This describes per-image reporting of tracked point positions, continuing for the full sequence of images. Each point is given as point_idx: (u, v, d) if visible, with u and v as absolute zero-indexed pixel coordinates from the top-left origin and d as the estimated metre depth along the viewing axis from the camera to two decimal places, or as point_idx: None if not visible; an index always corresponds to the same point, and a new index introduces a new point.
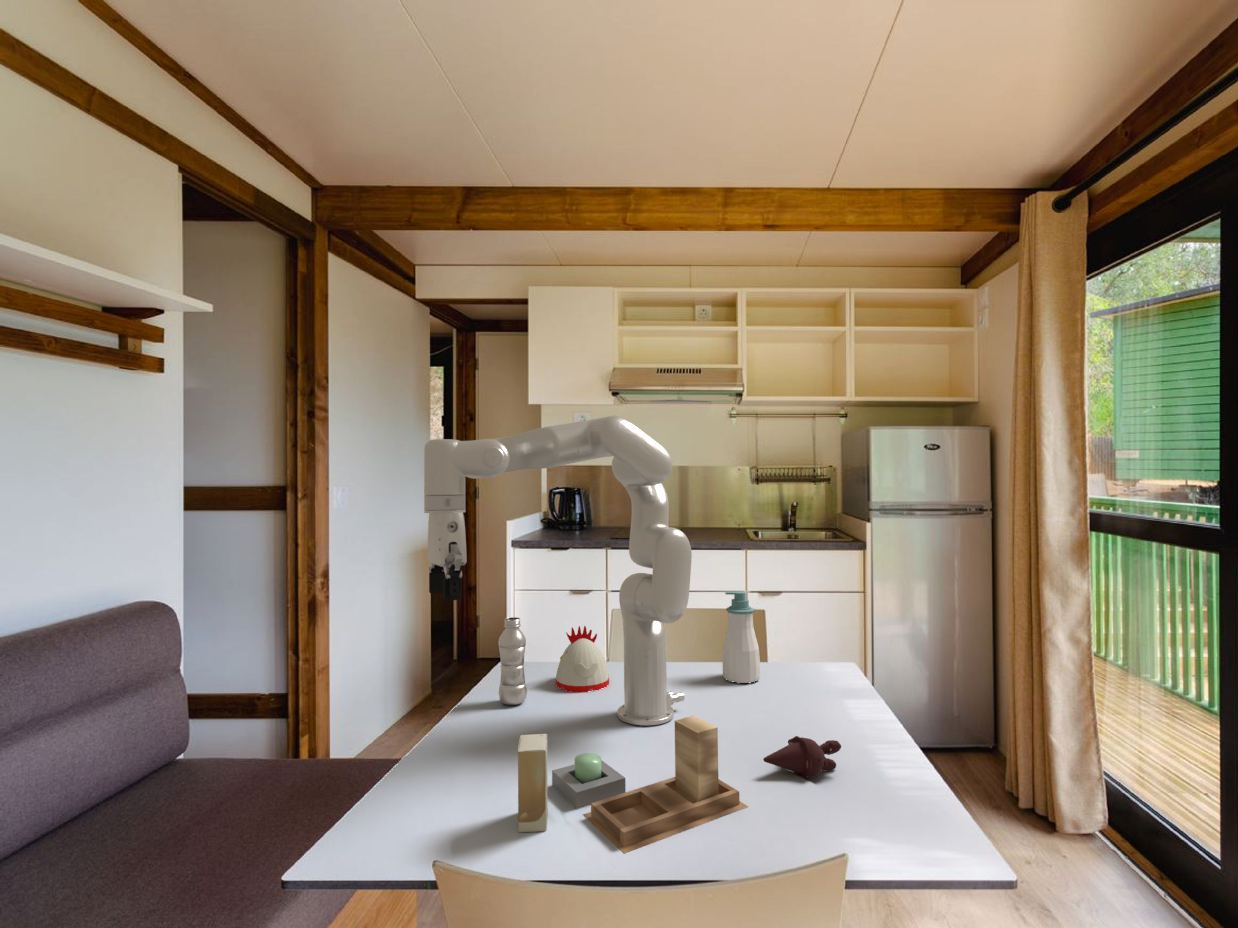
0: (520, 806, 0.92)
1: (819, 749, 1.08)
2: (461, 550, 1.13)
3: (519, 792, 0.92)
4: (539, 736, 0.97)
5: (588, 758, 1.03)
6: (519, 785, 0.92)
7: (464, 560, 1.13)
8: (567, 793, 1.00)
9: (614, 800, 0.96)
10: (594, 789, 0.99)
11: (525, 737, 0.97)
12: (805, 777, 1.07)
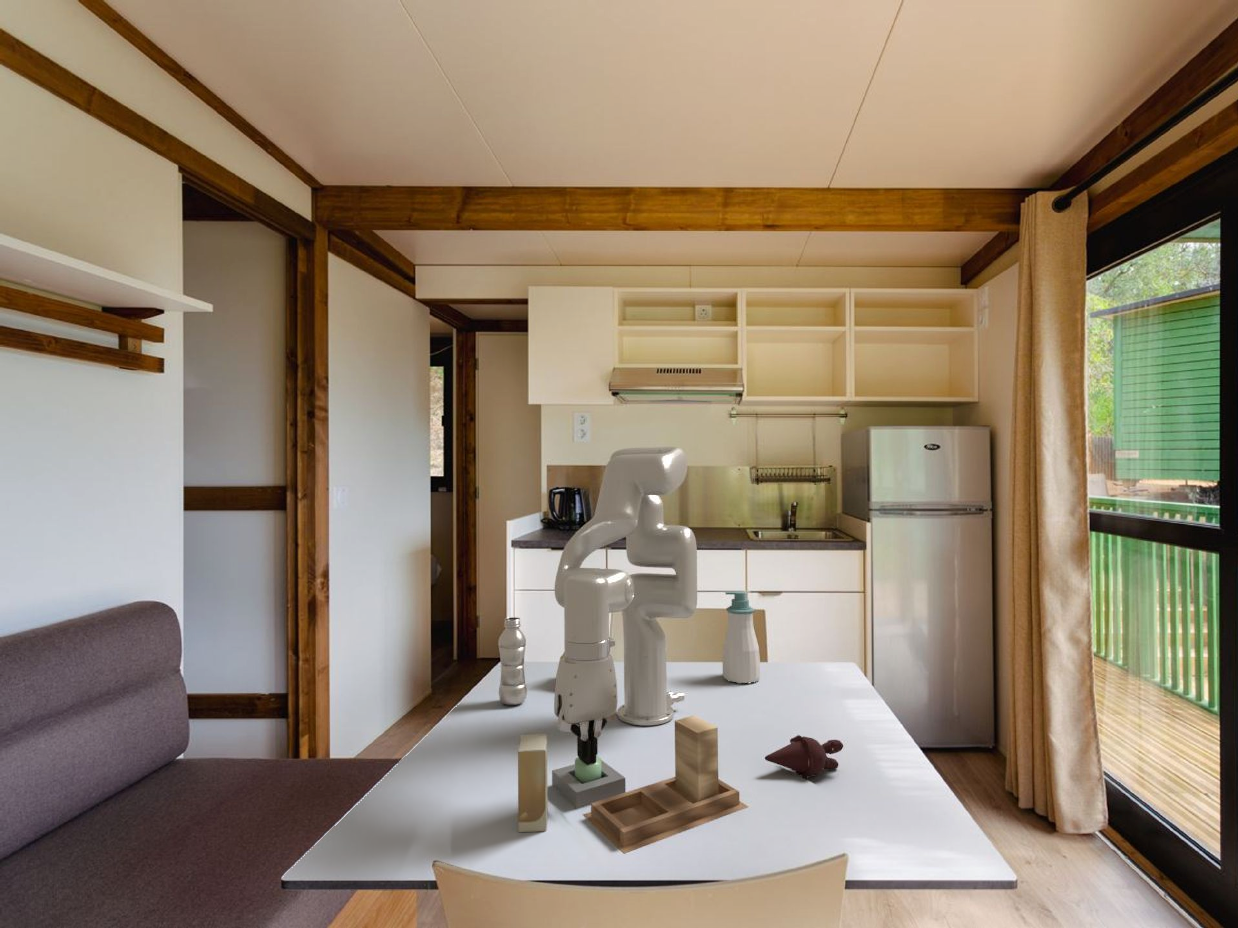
0: (520, 806, 0.92)
1: (821, 748, 1.08)
2: None
3: (519, 792, 0.92)
4: (539, 736, 0.97)
5: None
6: (519, 785, 0.92)
7: None
8: (567, 793, 1.00)
9: (614, 800, 0.96)
10: (594, 789, 0.99)
11: (525, 737, 0.97)
12: (806, 776, 1.07)
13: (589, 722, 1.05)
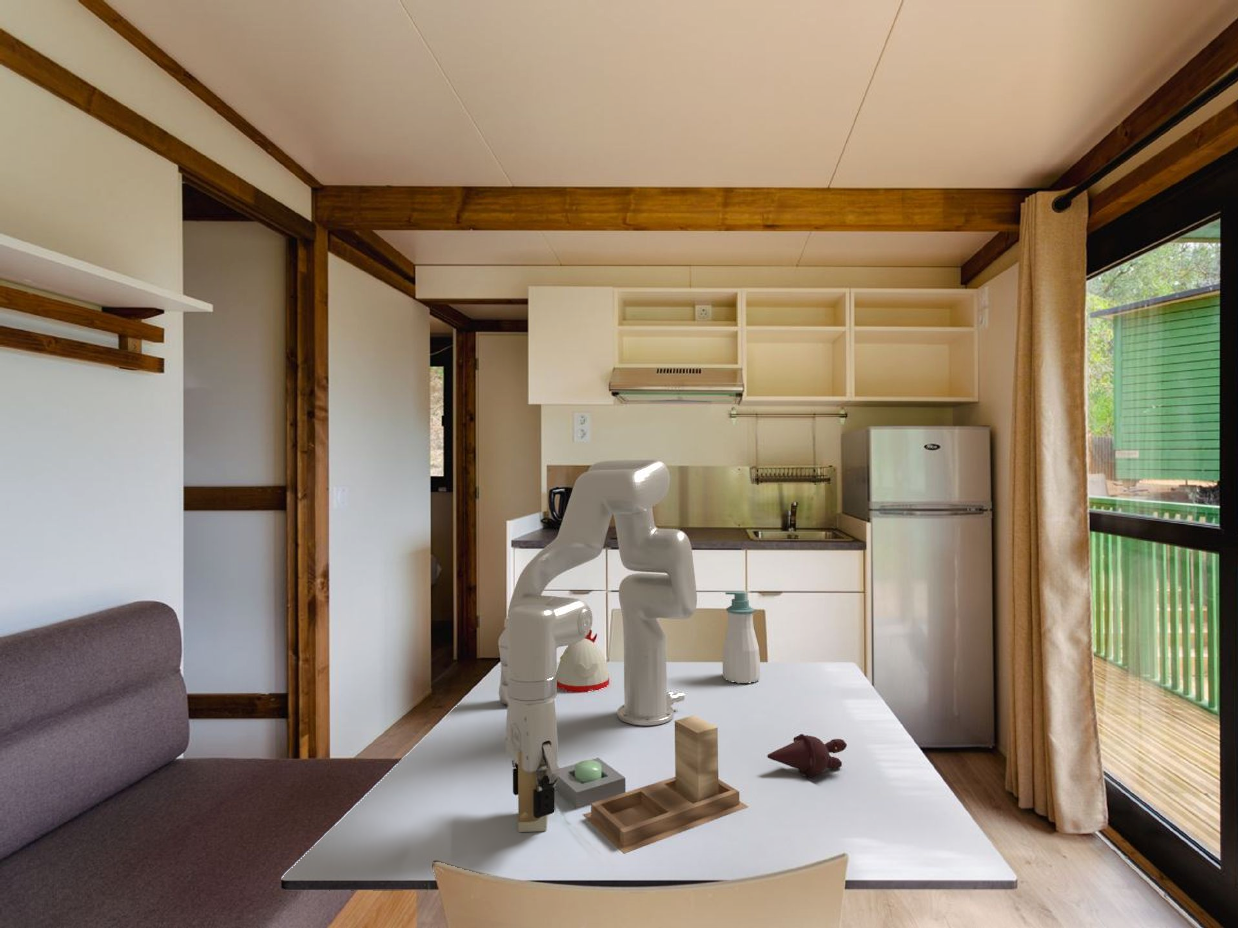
0: (521, 806, 0.92)
1: (823, 747, 1.09)
2: None
3: (519, 792, 0.92)
4: None
5: (588, 765, 1.03)
6: (519, 785, 0.92)
7: None
8: (567, 793, 1.00)
9: (614, 800, 0.96)
10: (594, 789, 0.99)
11: None
12: (809, 774, 1.08)
13: None
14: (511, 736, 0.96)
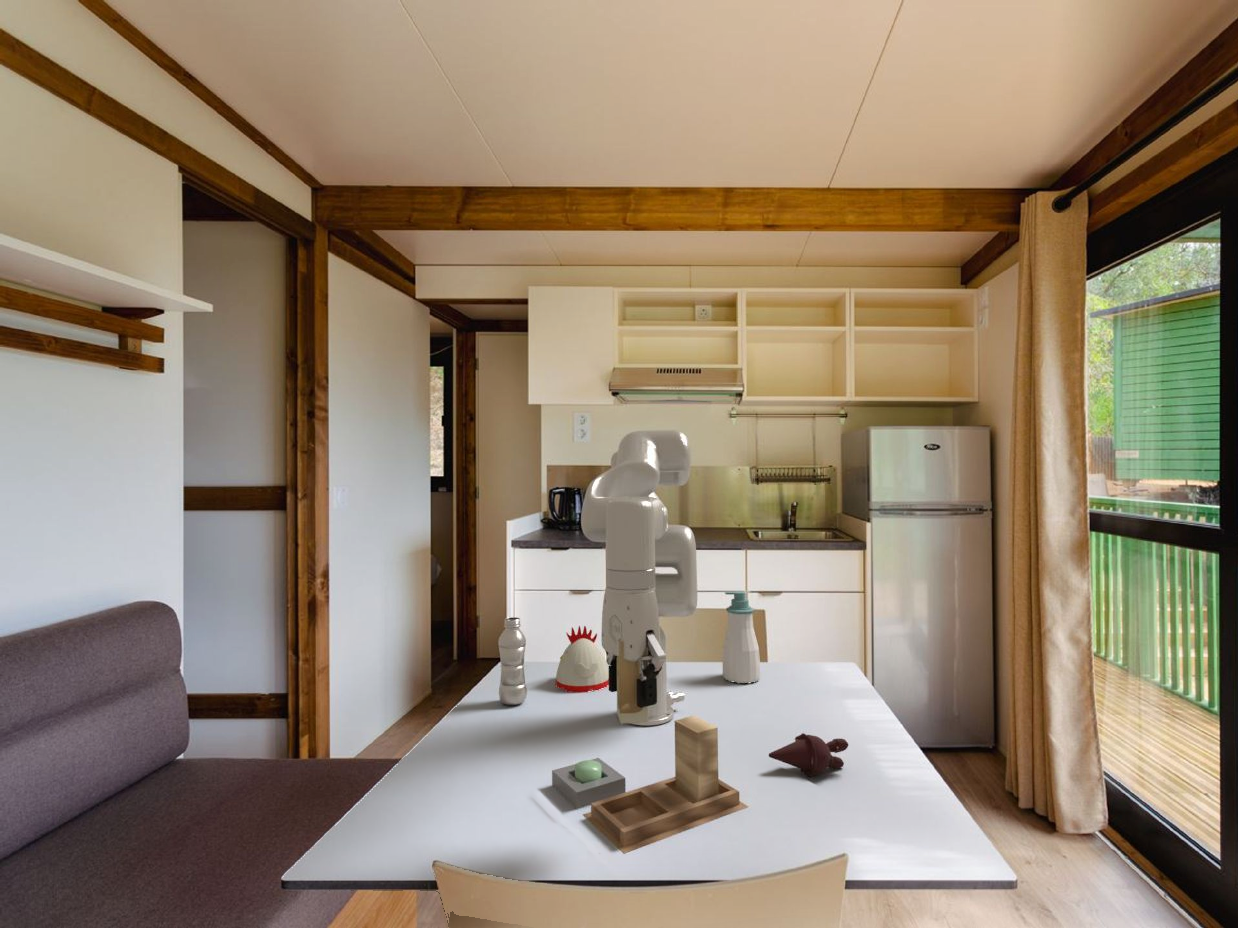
0: (622, 697, 0.91)
1: (825, 747, 1.09)
2: None
3: (621, 683, 0.91)
4: None
5: (588, 765, 1.03)
6: (621, 676, 0.91)
7: None
8: (567, 793, 1.00)
9: (614, 800, 0.96)
10: (594, 789, 0.99)
11: None
12: (810, 774, 1.08)
13: None
14: (609, 630, 0.94)
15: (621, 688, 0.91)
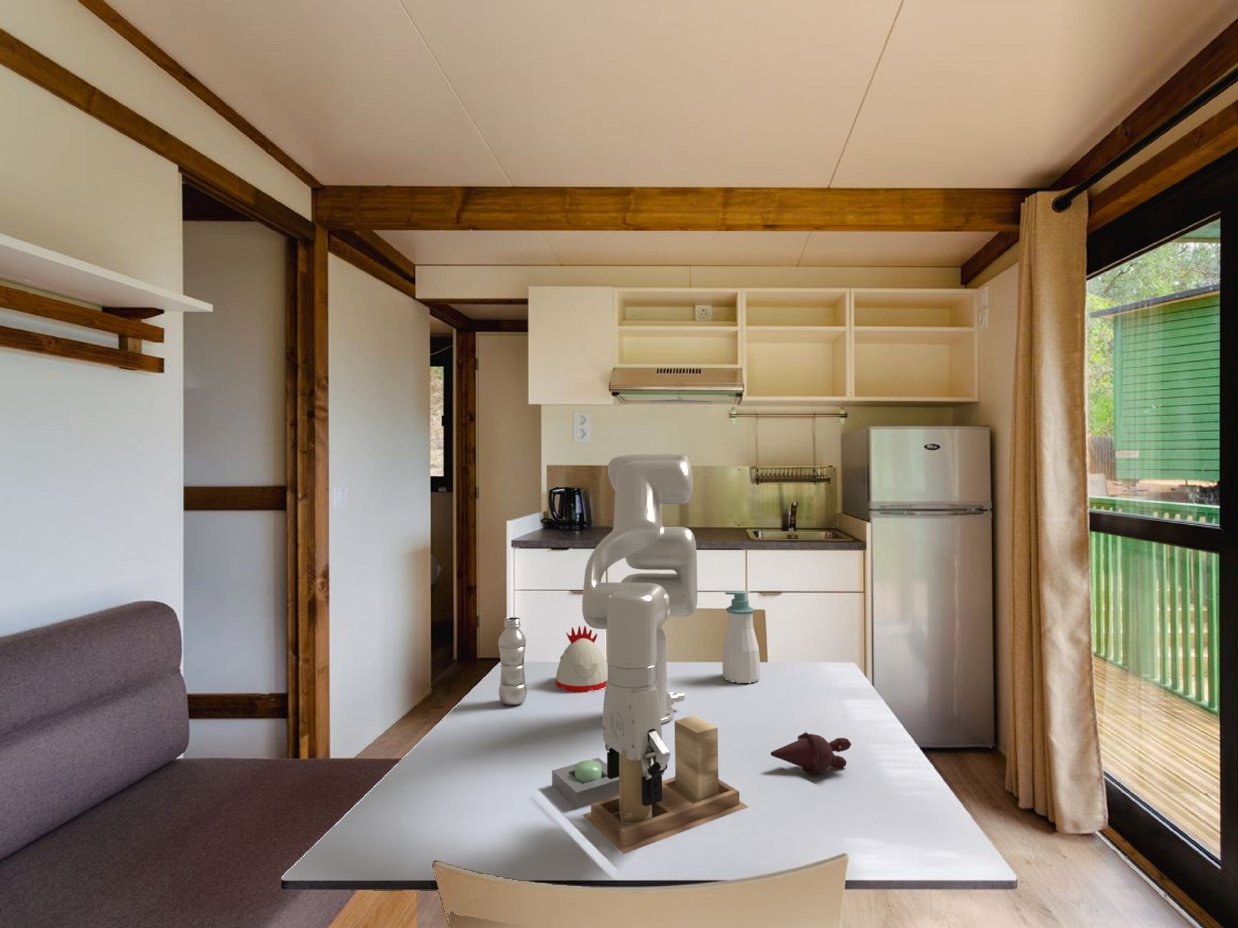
0: (625, 806, 0.90)
1: (827, 746, 1.09)
2: None
3: (624, 792, 0.90)
4: None
5: (588, 765, 1.03)
6: (624, 785, 0.90)
7: None
8: (567, 793, 1.00)
9: (614, 800, 0.96)
10: (594, 789, 0.99)
11: None
12: (812, 773, 1.08)
13: None
14: (611, 725, 0.94)
15: (624, 797, 0.90)
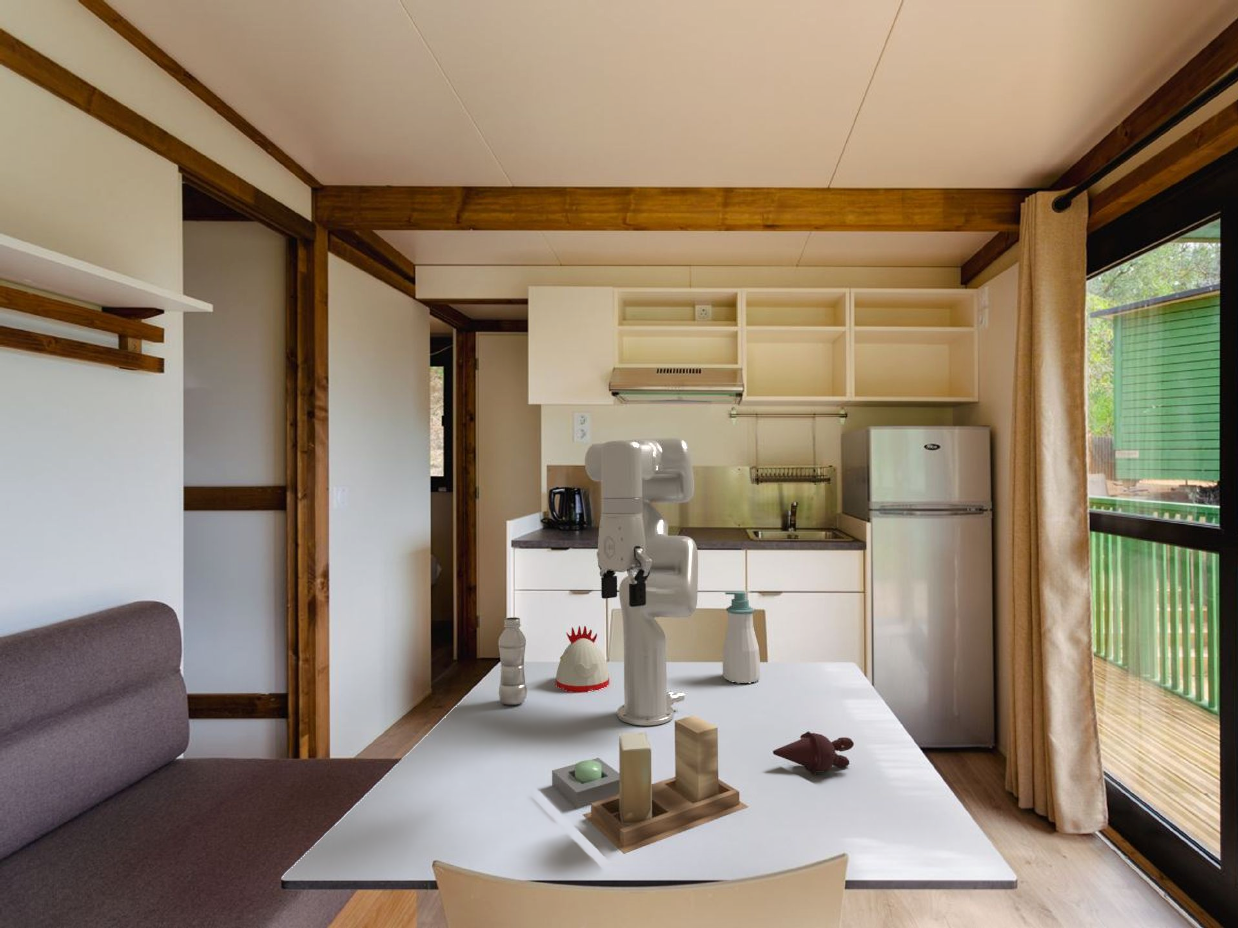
0: (626, 806, 0.90)
1: (829, 745, 1.10)
2: None
3: (624, 792, 0.90)
4: (639, 734, 0.95)
5: (588, 765, 1.03)
6: (624, 785, 0.90)
7: None
8: (567, 793, 1.00)
9: (614, 800, 0.96)
10: (594, 789, 0.99)
11: (625, 735, 0.95)
12: (814, 771, 1.09)
13: None
14: (604, 549, 1.14)
15: (624, 797, 0.90)
